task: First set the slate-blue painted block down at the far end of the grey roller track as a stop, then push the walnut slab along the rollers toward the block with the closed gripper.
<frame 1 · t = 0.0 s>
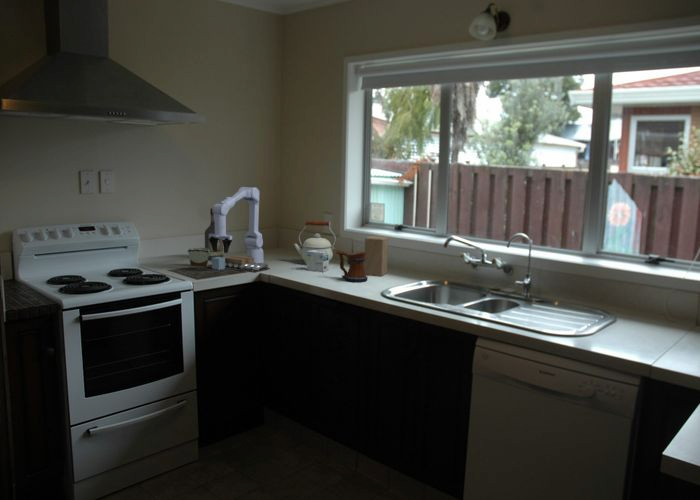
hand: (220, 252, 313), 10 cm above the counter, tool pointing down, fingers open, 7 cm apart
slab: (239, 262, 324), point 3 cm above the counter, touching roller track
roller track: (236, 267, 326), on the counter
kettle: (314, 263, 344), on the counter
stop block: (218, 268, 320), on the counter
wooden block: (375, 274, 316), on the counter
mug: (350, 279, 300), on the counter
food container: (200, 266, 326), on the counter
light bulb box: (317, 270, 323), on the counter
liquor: (214, 259, 349), on the counter
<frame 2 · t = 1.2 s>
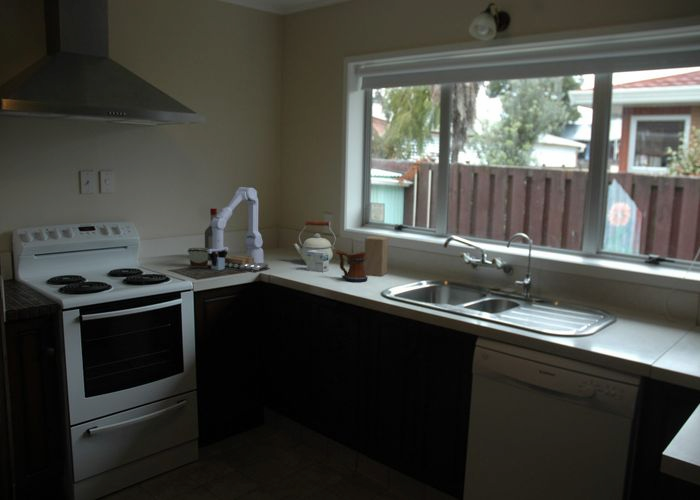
hand: (217, 265, 320), 2 cm above the counter, tool pointing down, fingers closed on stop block, 5 cm apart
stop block: (218, 268, 320), on the counter, touching gripper
everything else where it was.
when the fingers open (9 cm above the counter, at t = 3.3 s): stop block drops 2 cm, resting on roller track.
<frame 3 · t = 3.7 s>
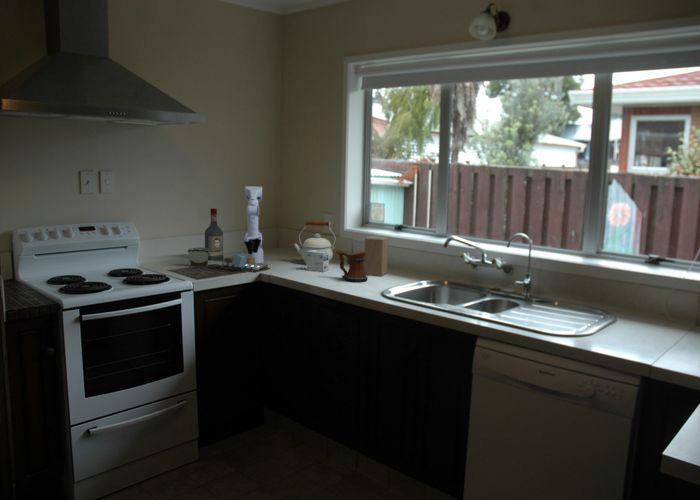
hand: (252, 253, 315), 9 cm above the counter, tool pointing down, fingers open, 4 cm apart
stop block: (238, 264, 315), point 3 cm above the counter, tilted 21°, touching roller track
everything else where it was.
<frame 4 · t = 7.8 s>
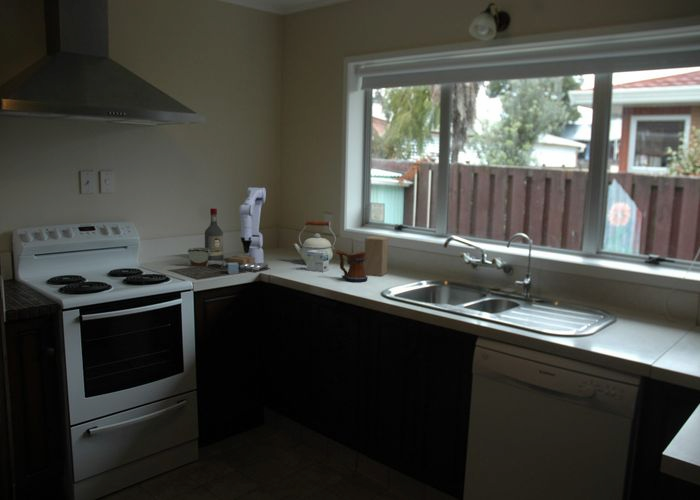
hand: (246, 251, 321), 9 cm above the counter, tool pointing down, fingers open, 7 cm apart
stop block: (232, 267, 312), point 2 cm above the counter, tilted 90°
everything else where it was.
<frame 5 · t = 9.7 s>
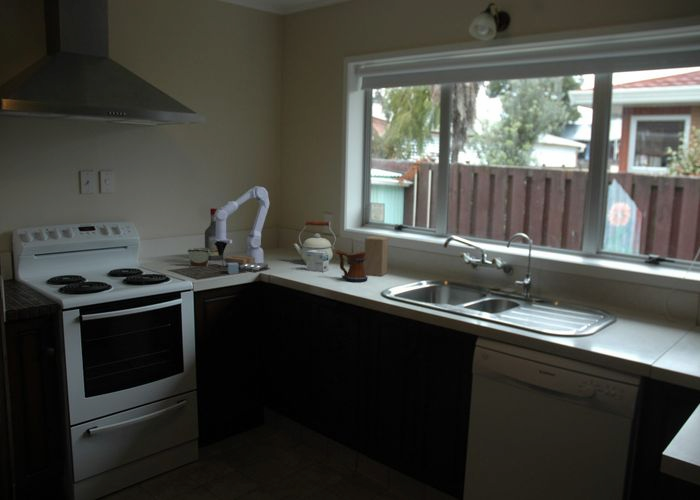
hand: (221, 255, 330), 6 cm above the counter, tool pointing down, fingers closed
nothing on the counter moved.
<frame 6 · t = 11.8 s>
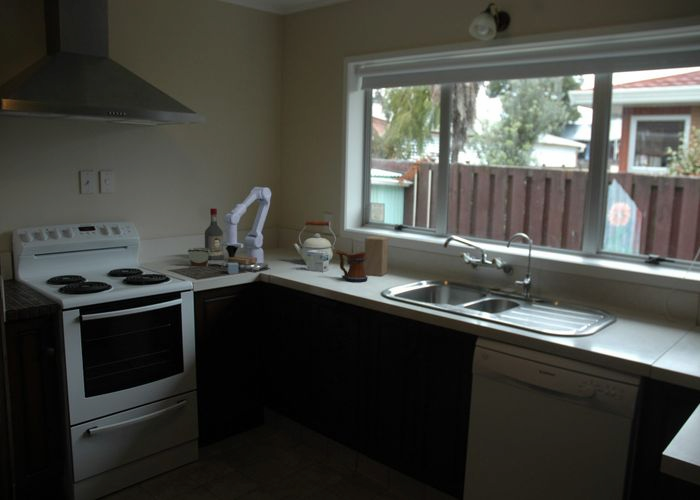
hand: (231, 259, 327), 4 cm above the counter, tool pointing down, fingers closed
slab: (242, 262, 324), point 3 cm above the counter, touching gripper, roller track
everything else where it was.
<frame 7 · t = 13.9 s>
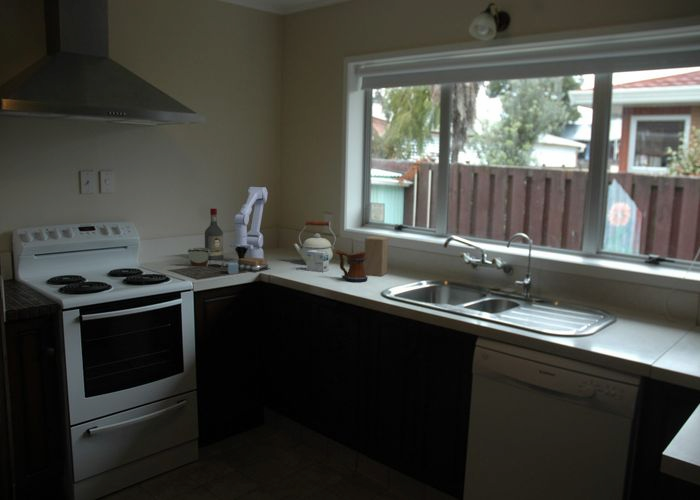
hand: (241, 260, 323), 4 cm above the counter, tool pointing down, fingers closed
slab: (252, 263, 321), point 3 cm above the counter, touching roller track
everything else where it was.
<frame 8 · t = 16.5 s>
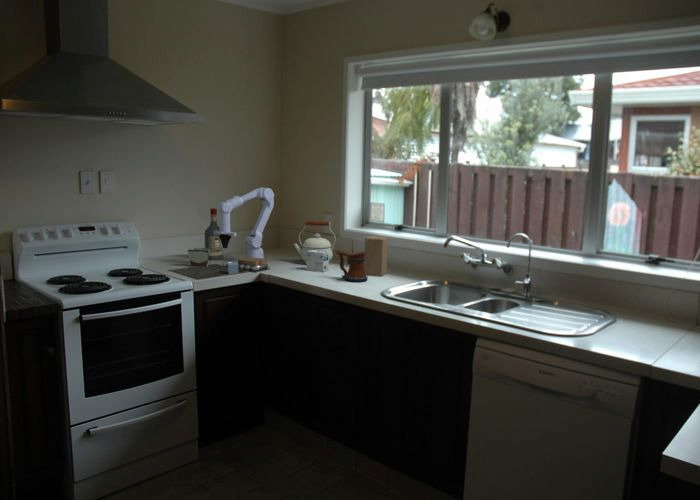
hand: (225, 248, 328), 10 cm above the counter, tool pointing down, fingers closed
nothing on the counter moved.
at the end: slab inside the target area (0.8 cm from its centre), point 3.0 cm above the counter; slab tilted 0° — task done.
